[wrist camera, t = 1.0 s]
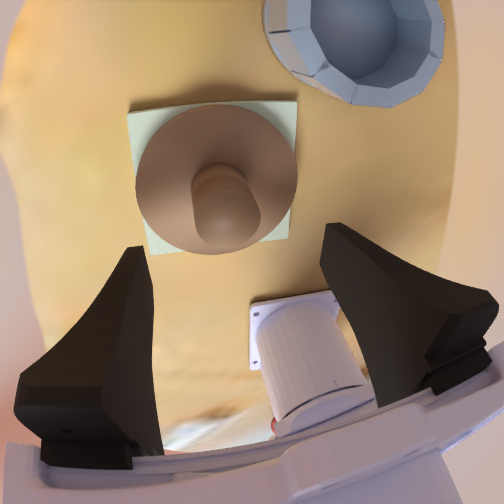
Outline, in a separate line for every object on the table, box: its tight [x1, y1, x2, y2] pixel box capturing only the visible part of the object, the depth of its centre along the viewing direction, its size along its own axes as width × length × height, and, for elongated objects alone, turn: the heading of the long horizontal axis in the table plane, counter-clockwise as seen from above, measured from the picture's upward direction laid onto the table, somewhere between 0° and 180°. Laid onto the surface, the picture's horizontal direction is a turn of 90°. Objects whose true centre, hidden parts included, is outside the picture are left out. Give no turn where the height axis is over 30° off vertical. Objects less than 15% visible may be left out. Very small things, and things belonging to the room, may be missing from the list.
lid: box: [135, 104, 297, 255], centre depth 16 cm, size 9×9×4 cm
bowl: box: [262, 0, 445, 108], centre depth 12 cm, size 9×9×4 cm
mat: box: [127, 100, 297, 255], centre depth 18 cm, size 9×9×1 cm
